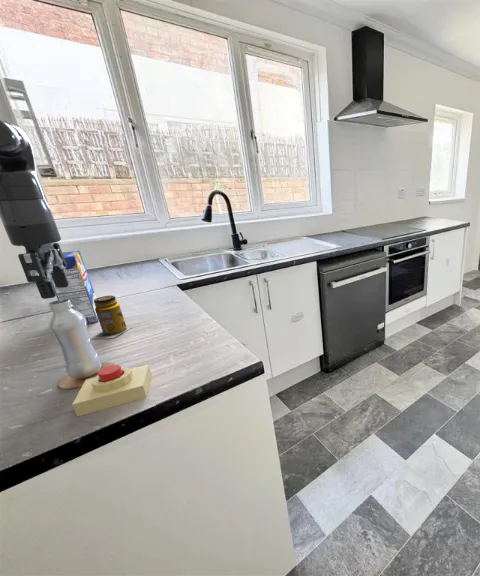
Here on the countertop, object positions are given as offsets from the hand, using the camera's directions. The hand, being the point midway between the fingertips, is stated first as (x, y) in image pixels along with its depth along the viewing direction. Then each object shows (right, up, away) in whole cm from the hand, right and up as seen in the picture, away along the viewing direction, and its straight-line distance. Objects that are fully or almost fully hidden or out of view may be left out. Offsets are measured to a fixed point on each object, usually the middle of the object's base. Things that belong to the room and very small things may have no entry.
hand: (56, 292), depth 71 cm
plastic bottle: (0, -21, +7) cm, 23 cm away
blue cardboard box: (-33, -11, +41) cm, 54 cm away
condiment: (-14, -14, +30) cm, 36 cm away
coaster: (0, -22, +7) cm, 23 cm away
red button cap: (+14, -20, -1) cm, 24 cm away
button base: (+14, -24, +1) cm, 28 cm away
